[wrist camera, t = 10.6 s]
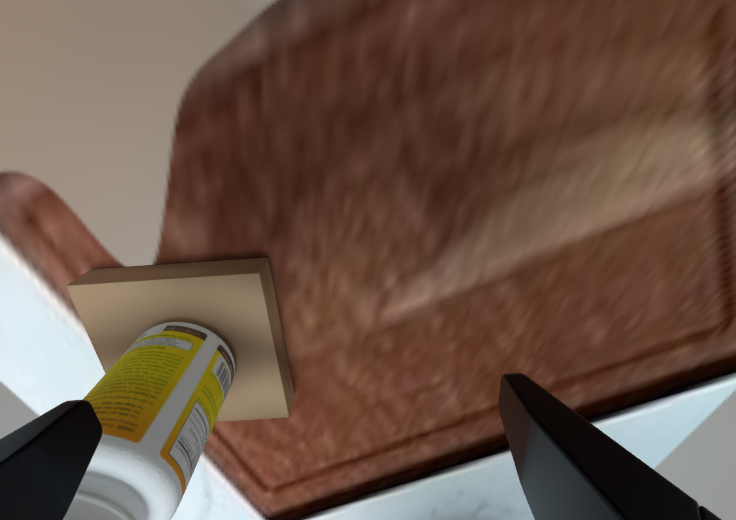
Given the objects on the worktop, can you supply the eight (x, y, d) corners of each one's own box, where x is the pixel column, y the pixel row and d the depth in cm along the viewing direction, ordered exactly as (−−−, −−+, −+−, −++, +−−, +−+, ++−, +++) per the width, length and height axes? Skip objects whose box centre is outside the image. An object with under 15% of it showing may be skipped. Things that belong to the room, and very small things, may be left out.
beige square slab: (294, 393, 25) (289, 417, 23) (146, 402, 25) (129, 426, 23) (268, 257, 21) (259, 273, 19) (91, 269, 21) (65, 286, 19)
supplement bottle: (117, 351, 21) (-80, 559, 12) (185, 298, 20) (24, 486, 10) (192, 409, 23) (75, 629, 13) (259, 365, 21) (180, 575, 12)
